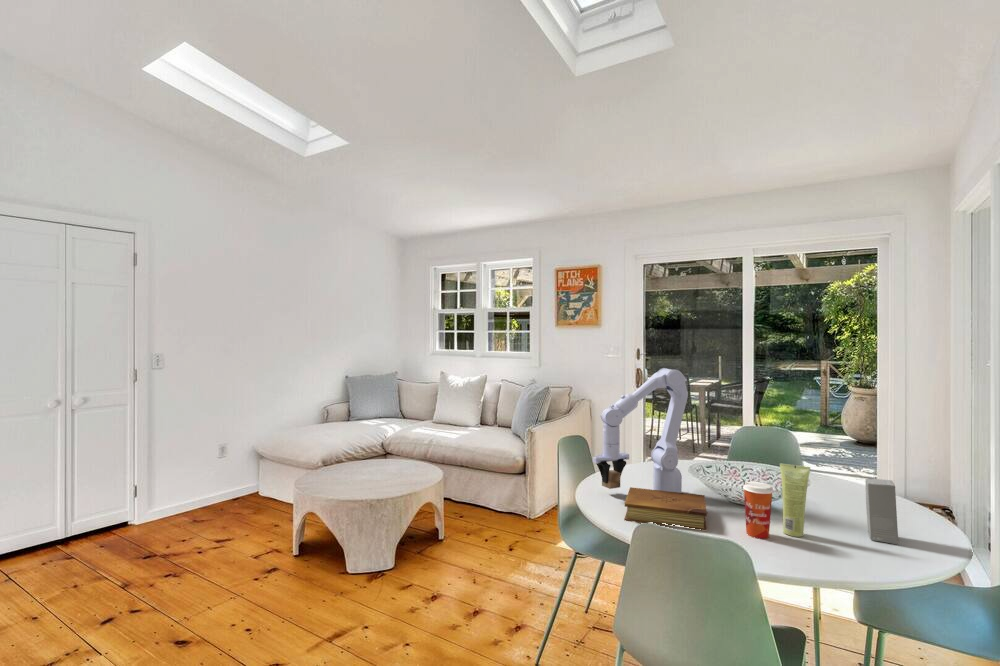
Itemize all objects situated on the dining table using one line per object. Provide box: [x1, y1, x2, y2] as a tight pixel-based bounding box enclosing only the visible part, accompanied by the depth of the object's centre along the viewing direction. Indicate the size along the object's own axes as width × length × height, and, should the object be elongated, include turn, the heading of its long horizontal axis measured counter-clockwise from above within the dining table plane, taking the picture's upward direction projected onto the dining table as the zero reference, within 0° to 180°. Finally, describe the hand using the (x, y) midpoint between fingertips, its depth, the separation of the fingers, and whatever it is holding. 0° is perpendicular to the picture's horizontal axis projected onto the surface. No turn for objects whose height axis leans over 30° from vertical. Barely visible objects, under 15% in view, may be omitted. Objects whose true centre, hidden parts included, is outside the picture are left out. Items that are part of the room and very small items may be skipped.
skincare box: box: [865, 477, 899, 546], centre depth 144 cm, size 8×7×16 cm
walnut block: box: [601, 469, 621, 490], centre depth 180 cm, size 4×4×5 cm
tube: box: [779, 462, 811, 538], centre depth 146 cm, size 6×5×20 cm
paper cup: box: [742, 481, 775, 540], centre depth 145 cm, size 8×8×14 cm
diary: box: [624, 487, 708, 531], centre depth 160 cm, size 23×19×6 cm
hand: (611, 481), depth 180 cm, fingers closed on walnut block, 4 cm apart
